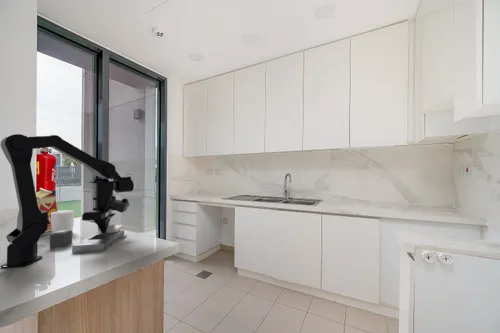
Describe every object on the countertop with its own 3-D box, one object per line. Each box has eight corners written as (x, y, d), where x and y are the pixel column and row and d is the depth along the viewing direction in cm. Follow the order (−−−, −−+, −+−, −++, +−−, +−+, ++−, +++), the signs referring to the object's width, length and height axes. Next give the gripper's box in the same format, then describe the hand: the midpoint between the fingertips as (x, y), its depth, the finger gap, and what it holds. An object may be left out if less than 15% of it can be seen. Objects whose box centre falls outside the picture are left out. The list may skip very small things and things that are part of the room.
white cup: (78, 231, 96) (79, 210, 96) (61, 237, 88) (62, 213, 88) (63, 231, 96) (63, 209, 97) (45, 236, 89) (45, 213, 89)
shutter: (114, 233, 85) (115, 225, 85) (96, 233, 84) (96, 226, 84) (123, 227, 93) (123, 220, 93) (106, 228, 92) (106, 221, 92)
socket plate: (103, 251, 73) (103, 244, 74) (72, 252, 72) (72, 245, 72) (124, 235, 90) (124, 230, 90) (98, 237, 88) (98, 231, 88)
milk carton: (24, 232, 95) (25, 188, 95) (48, 227, 104) (49, 187, 104) (37, 234, 92) (38, 189, 92) (61, 228, 101) (62, 187, 101)
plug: (63, 247, 77) (63, 232, 77) (49, 247, 76) (50, 233, 76) (71, 242, 82) (72, 229, 82) (58, 243, 81) (59, 229, 81)
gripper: (115, 196, 75) (115, 239, 75) (134, 191, 94) (134, 225, 94) (81, 197, 73) (80, 241, 73) (107, 191, 92) (107, 226, 92)
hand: (104, 232), depth 83 cm, fingers closed
